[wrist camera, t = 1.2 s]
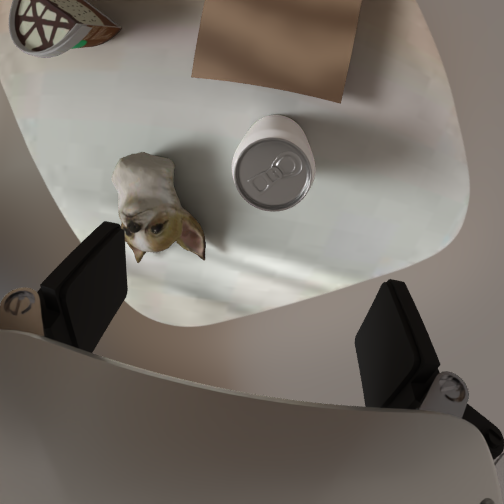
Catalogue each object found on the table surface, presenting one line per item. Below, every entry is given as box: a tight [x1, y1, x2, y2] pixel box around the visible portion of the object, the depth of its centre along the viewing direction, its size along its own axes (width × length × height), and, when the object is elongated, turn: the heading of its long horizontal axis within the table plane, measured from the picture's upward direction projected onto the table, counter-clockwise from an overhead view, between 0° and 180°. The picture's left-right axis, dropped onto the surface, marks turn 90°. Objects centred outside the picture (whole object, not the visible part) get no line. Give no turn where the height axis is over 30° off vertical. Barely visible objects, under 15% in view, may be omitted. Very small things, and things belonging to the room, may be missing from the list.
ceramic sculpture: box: [112, 152, 206, 263], centre depth 34 cm, size 11×9×15 cm
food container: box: [9, 0, 122, 58], centre depth 21 cm, size 12×6×10 cm, turn 44°
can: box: [232, 115, 315, 211], centre depth 27 cm, size 6×6×12 cm
